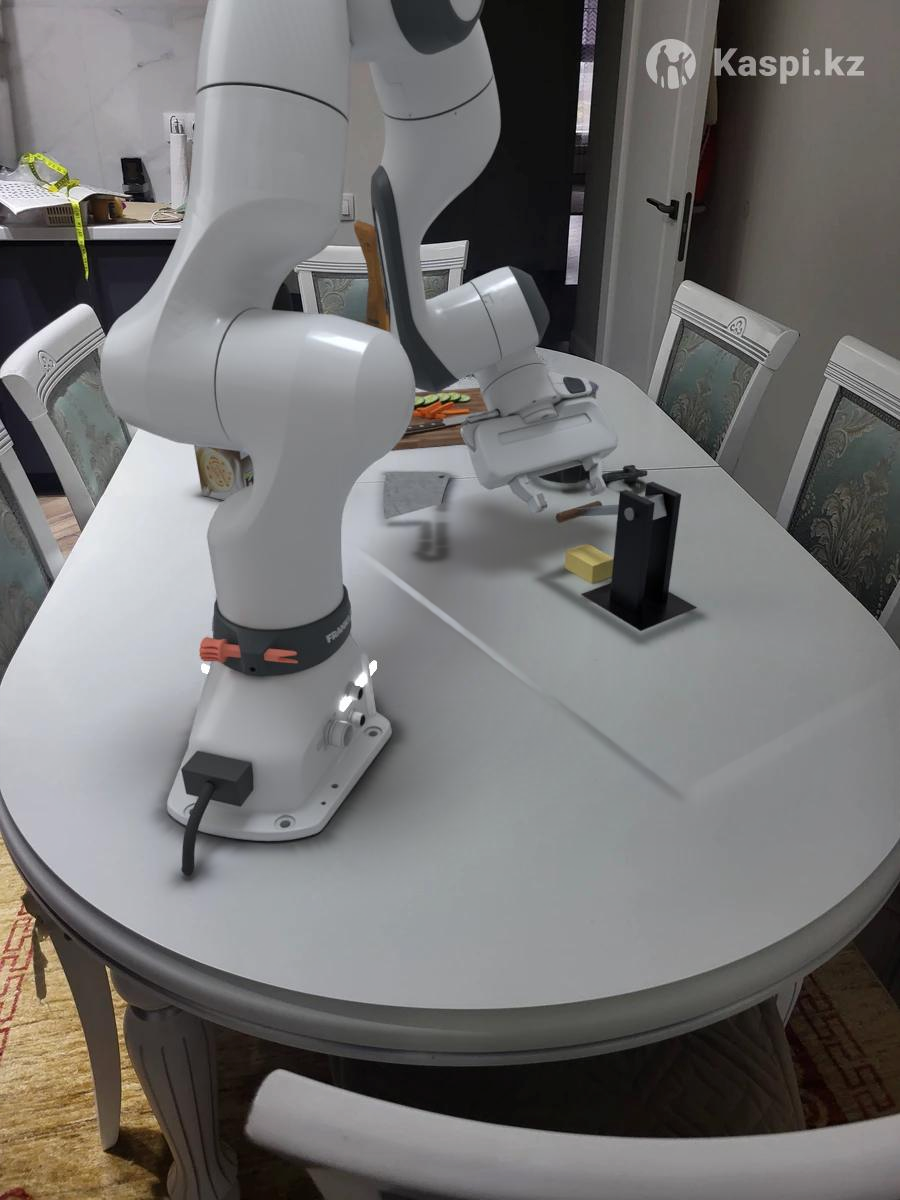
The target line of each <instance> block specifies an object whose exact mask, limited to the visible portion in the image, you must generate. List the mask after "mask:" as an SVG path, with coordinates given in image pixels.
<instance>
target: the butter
mask: <svg viewBox="0 0 900 1200" xmlns="http://www.w3.org/2000/svg"><path fill="white" fill-rule="evenodd" d="M613 559H614V557H613V556H611V555H609V554H607V553H605V552H603V551H601V550H599V549H598V548H597V547H595V546H592V545H591V544H589V543H585V544H581V545H579V546H576V547H573V548H569V549H566V550H565V558H564V569H565V570H567V571H569V572H571V573H573V574H574V575H576V576H577V577H579V578H580V579H582V580H584V581H586V582H587V583H589V584H591V585H592V584H595V583H598V582H601V581H604V580H607V579H608V578H612V569H613Z"/></svg>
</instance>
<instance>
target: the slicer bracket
mask: <svg viewBox="0 0 900 1200" xmlns="http://www.w3.org/2000/svg"><path fill="white" fill-rule="evenodd" d="M660 494H663V498H664V503H665V509H666V514H667V515H666V516H664V517H661V518H658V519H655V520H653V514H654V506H655V503H654V502H652V501H650V500H648V499H645V498H643V497H642V496H641V495H639V494H637V493H635V492H633V491H631V490H628V489H624V490H621V491H619V497H618V504H619V506H618V515H617V517H616V529H615V537H614V538H615V539H614V550H613V558H614V559H613V569H612V577H611V582H610V583H606V584H604V585H601V586H599V587H596V588H594V589H591V590H588V591H586V592H585V591H584V592H583V593H580V595H581V596H582V597H584V598H585V599H588V600H589V601H591V602H592V603H594V604H596V605H597V606H598V607H600V608H602V609H604V610H605V611H607V612H609V613H610V614H612V615H614V616H615V617H617V618H618V619H620V620H622V621H623V622H624V623H626V624H628V625H630V626H631V627H633V628H635V629H636V630H638V631H640V632H642V631H644V630H645V631H646V630H647V629H649V628H652V627H655V626H657V625H659V624H662V623H664V622H666V621H669V620H672V619H673V618H676V617H678V616H681V615H684V614H685V613H686V614H687V613H688V612H690V611H693V610H695V609H697V608H698V607H697V606H696V605H694V604H692V603H690V602H688V600H687V601H686V600H685V599H683V598H681V597H679V596H678V595H676V594H674V593H672V592H670V584H671V582H670V581H671V577H672V576H671V575H672V568H673V562H674V561H673V560H674V552H675V546H676V545H675V544H676V540H677V539H676V538H677V530H678V523H679V516H680V507H681V500H682V493H680V492H677V491H675V490H672V489H670V488H668V487H666V486H664V485H662V484H659V483H656V482H655V481H649V482H646V484H645V492H644V496H647V495H660Z"/></svg>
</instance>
